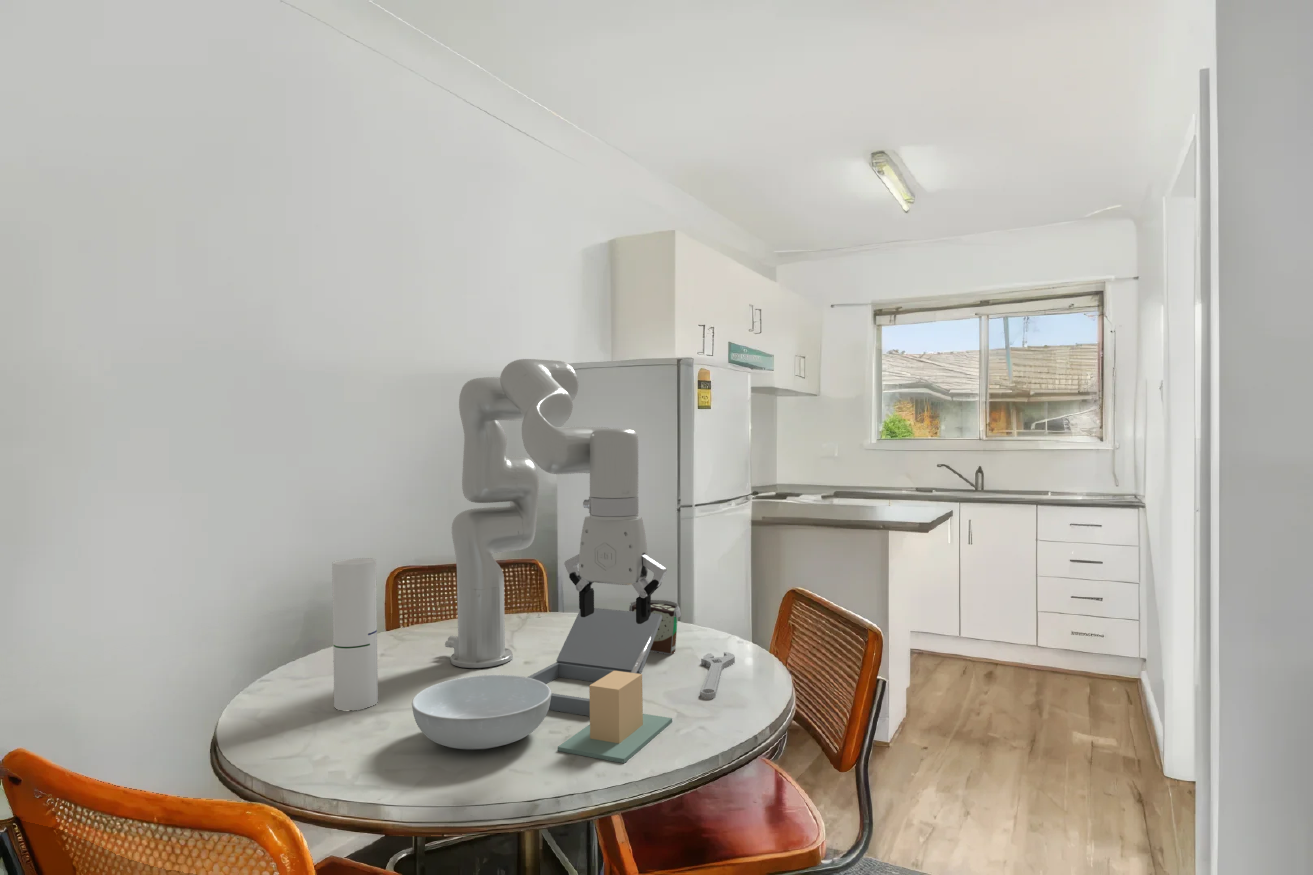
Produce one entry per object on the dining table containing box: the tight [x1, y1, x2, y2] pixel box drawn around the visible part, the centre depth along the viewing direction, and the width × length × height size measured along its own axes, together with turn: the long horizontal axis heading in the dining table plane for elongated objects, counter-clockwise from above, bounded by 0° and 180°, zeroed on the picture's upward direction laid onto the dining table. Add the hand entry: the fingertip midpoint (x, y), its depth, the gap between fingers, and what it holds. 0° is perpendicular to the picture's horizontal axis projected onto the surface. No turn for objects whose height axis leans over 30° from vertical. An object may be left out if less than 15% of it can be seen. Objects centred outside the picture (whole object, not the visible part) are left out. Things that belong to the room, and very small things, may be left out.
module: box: [588, 671, 644, 743], centre depth 118 cm, size 5×8×8 cm, turn 155°
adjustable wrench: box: [700, 651, 736, 700], centre depth 146 cm, size 25×6×2 cm, turn 165°
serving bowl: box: [411, 674, 552, 750], centre depth 118 cm, size 21×21×7 cm
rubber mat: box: [557, 713, 673, 764], centre depth 118 cm, size 11×17×1 cm, turn 155°
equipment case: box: [527, 607, 662, 717], centre depth 142 cm, size 18×27×11 cm, turn 155°
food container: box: [628, 599, 682, 656], centre depth 166 cm, size 12×6×10 cm, turn 58°
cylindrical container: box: [331, 557, 379, 711], centre depth 134 cm, size 7×7×25 cm
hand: (614, 618), depth 118 cm, fingers open, 9 cm apart
